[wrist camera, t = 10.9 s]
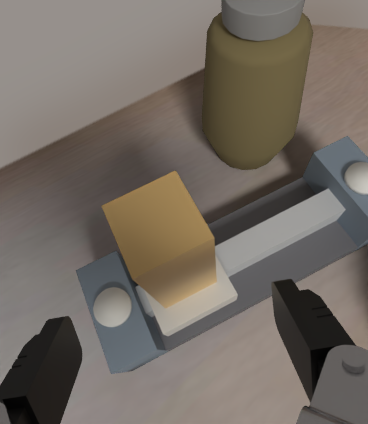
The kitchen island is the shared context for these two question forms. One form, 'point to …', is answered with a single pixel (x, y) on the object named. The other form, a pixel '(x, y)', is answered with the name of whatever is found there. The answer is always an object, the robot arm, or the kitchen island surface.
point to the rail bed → (273, 265)
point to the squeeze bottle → (254, 79)
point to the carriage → (170, 252)
